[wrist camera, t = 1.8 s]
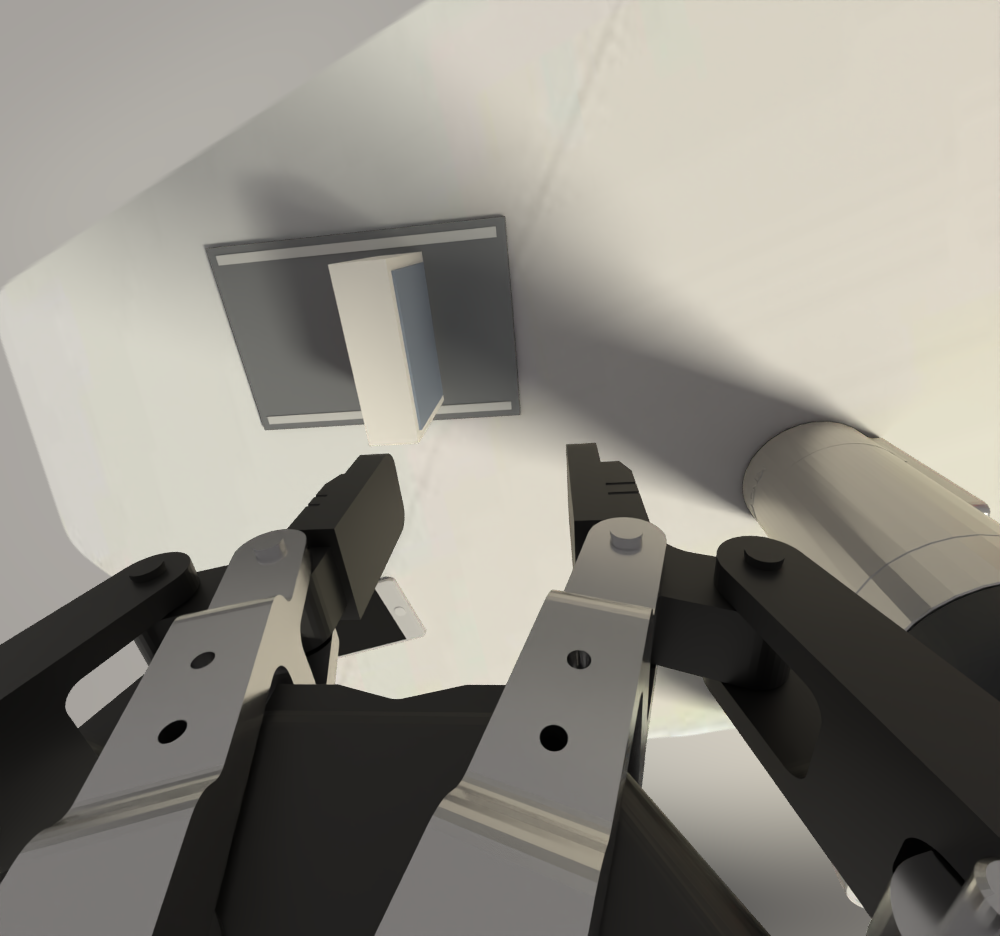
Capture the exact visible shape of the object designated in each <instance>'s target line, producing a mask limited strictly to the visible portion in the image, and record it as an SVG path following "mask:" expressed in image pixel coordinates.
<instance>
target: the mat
mask: <svg viewBox="0 0 1000 936" xmlns="http://www.w3.org/2000/svg"><path fill="white" fill-rule="evenodd" d="M206 251H207V254H208V257H209V260H210V264H211V267H212V270H213V273H214V276H215V279H216V282H217V285H218V288H219V291H220V294H221V297H222V300H223V303H224V306H225V309H226V313H227V316H228V319H229V322H230V325H231V328H232V331H233V334H234V337H235V340H236V343H237V346H238V349H239V352H240V355H241V358H242V362H243V365H244V368H245V371H246V374H247V377H248V380H249V383H250V386H251V389H252V392H253V395H254V398H255V401H256V404H257V407H258V411H259V414H260V417H261V420H262V423H263V426H264V429H265V430H278V429H295V428H311V427H328V426H345V425H361V424H364V420H363V416H362V411H361V407H360V402H359V398H358V394H357V389H356V385H355V381H354V376H353V372H352V368H351V363H350V359H349V355H348V350H347V346H346V341H345V337H344V333H343V328H342V324H341V320H340V315H339V311H338V307H337V302H336V298H335V294H334V289H333V285H332V280H331V276H330V272H329V267H328V265H329V264H335V263H340V262H346V261H352V260H358V259H363V258H369V257H375V256H383V255H393V254H403V253H413V252H422V257H423V263H424V269H425V276H426V283H427V289H428V296H429V303H430V309H431V316H432V323H433V329H434V336H435V343H436V349H437V356H438V363H439V369H440V376H441V383H442V389H443V397H444V401H443V403H442V404H441V406H440V408H439V410H438V411H437V413H436V415H435V416H434V418H433V420H445V419H461V418H478V417H494V416H511V415H520V414H521V412H520V400H519V387H518V374H517V362H516V349H515V337H514V324H513V311H512V299H511V286H510V273H509V261H508V248H507V235H506V223H505V216H503V217H494V218H485V219H475V220H466V221H457V222H447V223H438V224H429V225H420V226H410V227H401V228H392V229H382V230H373V231H364V232H354V233H345V234H336V235H327V236H317V237H308V238H299V239H289V240H280V241H271V242H261V243H252V244H243V245H234V246H224V247H215V248H206Z"/></svg>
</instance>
